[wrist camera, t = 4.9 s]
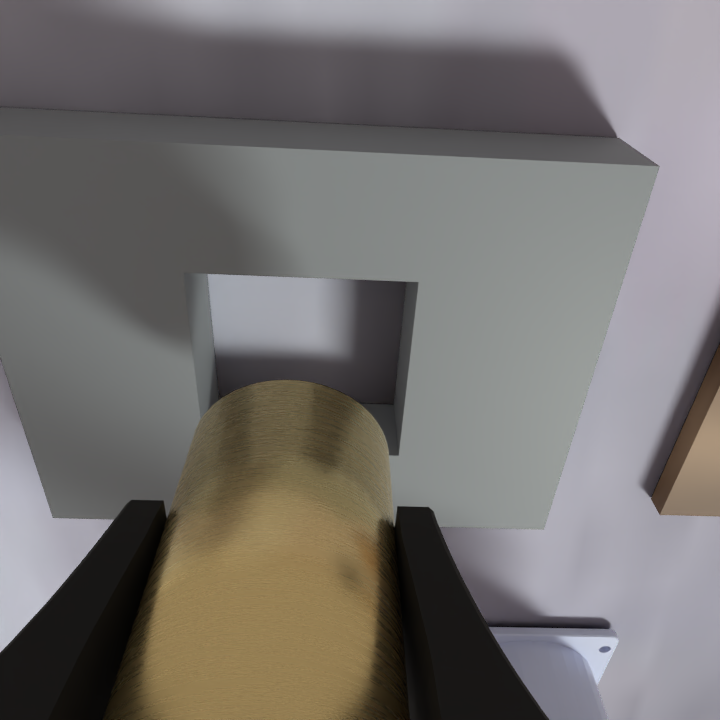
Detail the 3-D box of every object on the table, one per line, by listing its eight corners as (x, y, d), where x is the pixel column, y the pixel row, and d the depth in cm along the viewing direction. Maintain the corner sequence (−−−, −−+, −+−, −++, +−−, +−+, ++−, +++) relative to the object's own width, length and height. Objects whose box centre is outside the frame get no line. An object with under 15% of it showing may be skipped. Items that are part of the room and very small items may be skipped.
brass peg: (384, 526, 15) (407, 888, 9) (204, 526, 15) (112, 891, 9) (393, 380, 13) (432, 747, 7) (178, 378, 13) (31, 750, 7)
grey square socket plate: (525, 475, 22) (543, 529, 20) (81, 464, 22) (52, 517, 20) (618, 137, 16) (659, 166, 14) (-17, 106, 15) (-75, 130, 13)
